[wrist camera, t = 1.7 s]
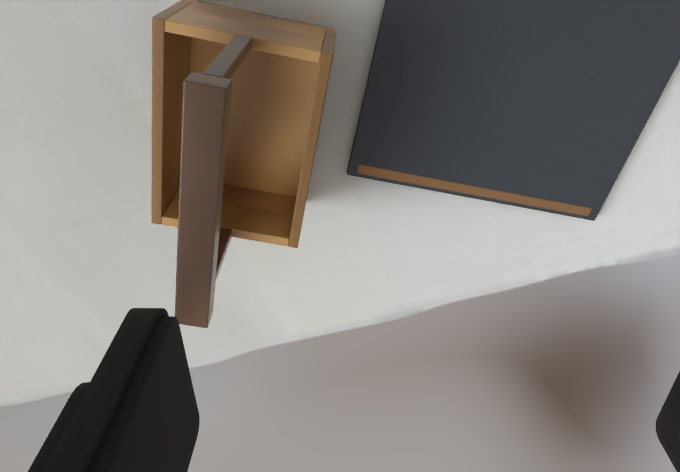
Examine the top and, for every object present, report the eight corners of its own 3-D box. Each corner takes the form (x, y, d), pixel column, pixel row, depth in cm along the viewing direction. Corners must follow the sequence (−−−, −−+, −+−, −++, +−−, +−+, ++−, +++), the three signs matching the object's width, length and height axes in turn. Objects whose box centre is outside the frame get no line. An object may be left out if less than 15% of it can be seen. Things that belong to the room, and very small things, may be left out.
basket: (178, 179, 37) (95, 311, 25) (185, -3, 31) (78, 59, 19) (304, 201, 38) (282, 340, 26) (336, 29, 32) (326, 108, 20)
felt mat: (347, 171, 37) (347, 175, 36) (439, -244, 25) (441, -247, 24) (591, 216, 38) (594, 221, 38) (785, -154, 27) (794, -155, 26)
